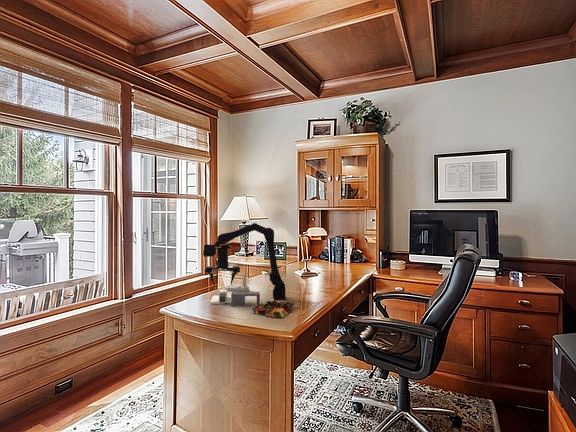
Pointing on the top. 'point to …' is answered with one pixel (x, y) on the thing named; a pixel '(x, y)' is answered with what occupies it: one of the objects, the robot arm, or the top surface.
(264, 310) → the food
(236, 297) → the grey notched block
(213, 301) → the white mat
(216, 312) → the top surface
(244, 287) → the electronic device
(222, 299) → the plug
